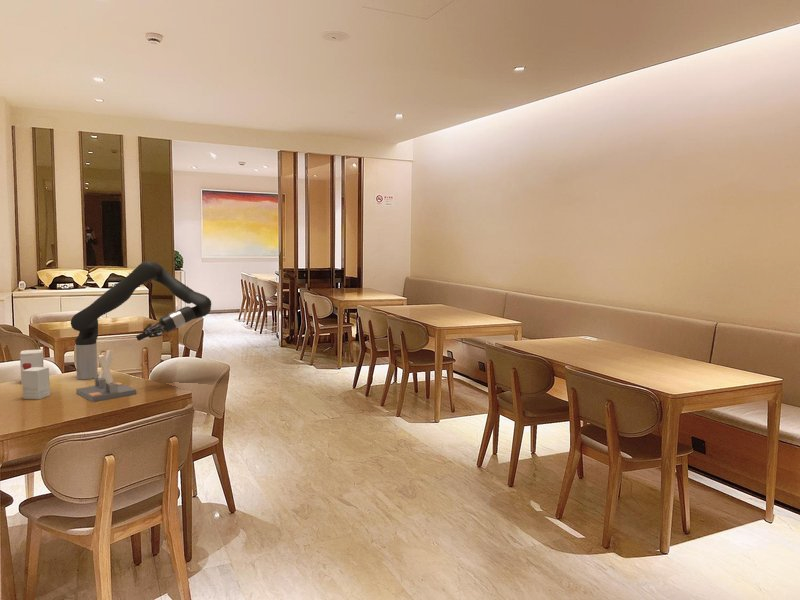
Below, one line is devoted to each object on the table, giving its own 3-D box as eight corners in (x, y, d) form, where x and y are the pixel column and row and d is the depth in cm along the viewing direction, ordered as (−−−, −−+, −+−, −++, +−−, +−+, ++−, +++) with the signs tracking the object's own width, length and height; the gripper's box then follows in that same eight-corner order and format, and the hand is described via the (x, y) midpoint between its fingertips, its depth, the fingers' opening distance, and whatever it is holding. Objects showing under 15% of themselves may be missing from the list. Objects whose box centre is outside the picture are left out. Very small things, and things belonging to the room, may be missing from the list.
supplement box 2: (51, 395, 242) (49, 367, 241) (38, 399, 235) (36, 370, 234) (35, 394, 243) (34, 366, 242) (22, 399, 236) (20, 370, 235)
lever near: (107, 388, 242) (97, 356, 238) (113, 385, 244) (102, 354, 240) (110, 389, 240) (99, 357, 236) (115, 386, 242) (105, 355, 238)
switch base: (76, 393, 246) (75, 380, 246) (118, 386, 259) (118, 373, 259) (92, 401, 233) (92, 388, 232) (136, 394, 246) (135, 380, 245)
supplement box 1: (20, 384, 261) (19, 353, 260) (22, 380, 269) (20, 350, 267) (43, 382, 265) (41, 351, 264) (44, 378, 273) (43, 348, 272)
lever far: (96, 382, 249) (107, 349, 252) (101, 382, 251) (112, 350, 254) (98, 383, 247) (109, 350, 250) (103, 384, 249) (114, 351, 252)
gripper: (163, 310, 264) (128, 327, 254) (175, 318, 255) (139, 335, 245) (169, 324, 267) (134, 341, 258) (181, 331, 259) (145, 349, 249)
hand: (137, 338), depth 251 cm, fingers closed
